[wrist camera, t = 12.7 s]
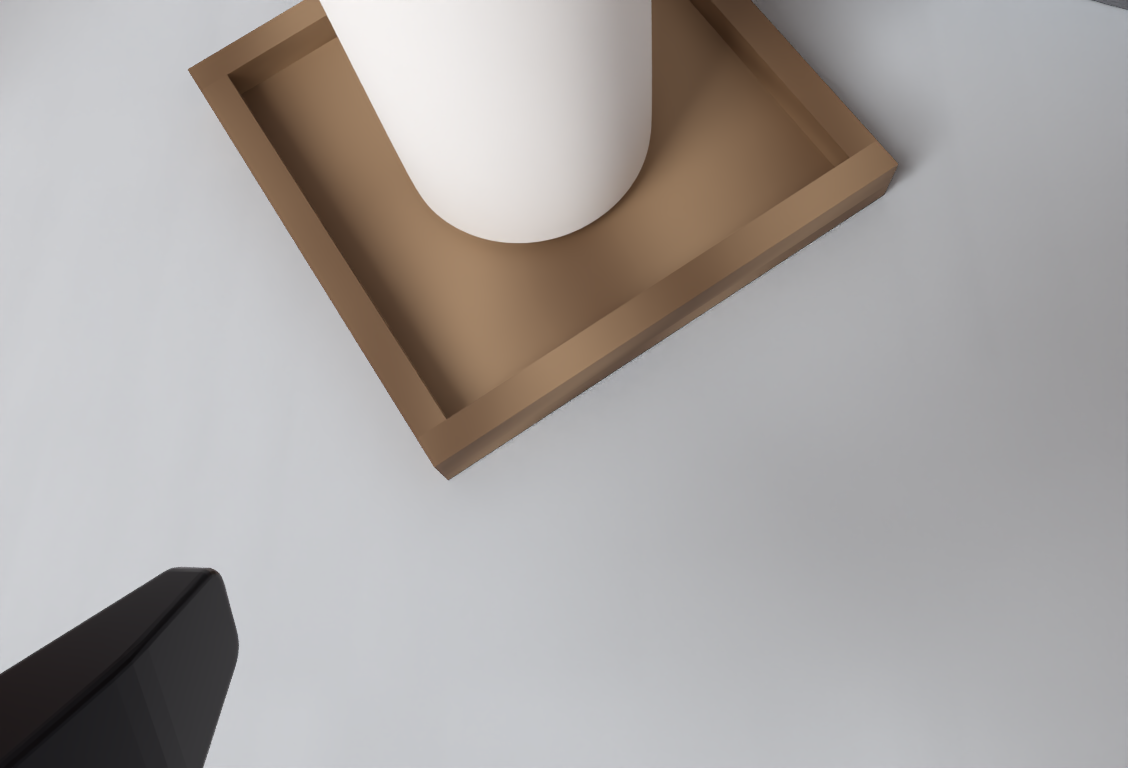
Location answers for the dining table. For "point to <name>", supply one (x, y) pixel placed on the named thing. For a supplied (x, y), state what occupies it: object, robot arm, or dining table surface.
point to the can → (508, 104)
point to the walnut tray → (557, 266)
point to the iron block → (1115, 3)
